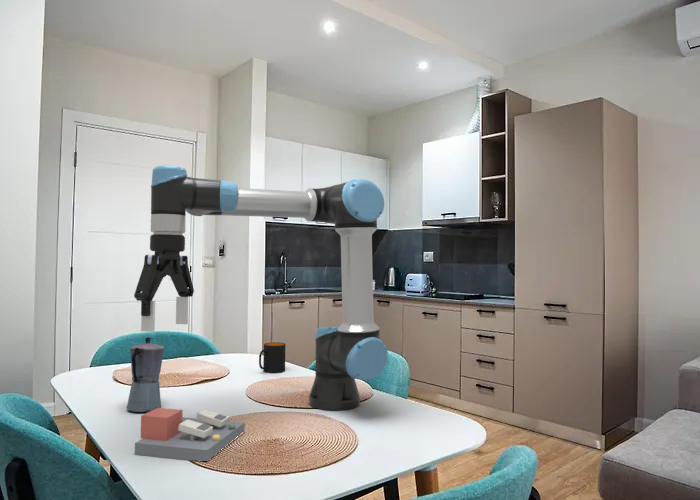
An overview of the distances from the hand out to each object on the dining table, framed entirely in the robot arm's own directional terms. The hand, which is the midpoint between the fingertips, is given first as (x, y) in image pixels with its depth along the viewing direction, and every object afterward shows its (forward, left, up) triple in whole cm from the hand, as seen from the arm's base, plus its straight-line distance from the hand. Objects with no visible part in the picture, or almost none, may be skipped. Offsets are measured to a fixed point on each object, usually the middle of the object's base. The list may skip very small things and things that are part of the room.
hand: (165, 327), depth 116 cm
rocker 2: (-8, -8, -22) cm, 25 cm away
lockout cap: (0, 0, -24) cm, 24 cm away
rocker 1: (-8, 0, -22) cm, 24 cm away
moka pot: (+21, -24, -27) cm, 42 cm away
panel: (-6, -4, -27) cm, 27 cm away
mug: (+5, -80, -27) cm, 85 cm away
